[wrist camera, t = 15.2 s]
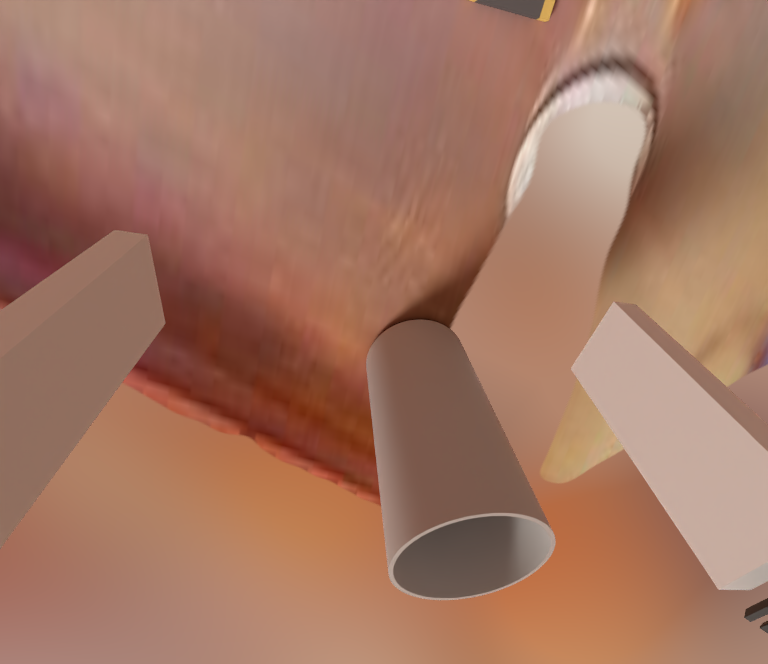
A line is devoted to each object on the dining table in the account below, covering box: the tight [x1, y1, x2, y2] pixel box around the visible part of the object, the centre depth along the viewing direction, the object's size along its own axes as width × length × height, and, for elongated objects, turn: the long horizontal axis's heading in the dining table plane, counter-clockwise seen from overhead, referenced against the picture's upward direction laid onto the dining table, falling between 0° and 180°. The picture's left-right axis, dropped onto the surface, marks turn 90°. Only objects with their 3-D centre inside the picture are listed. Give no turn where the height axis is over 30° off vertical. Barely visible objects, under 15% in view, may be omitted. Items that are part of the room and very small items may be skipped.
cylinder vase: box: [366, 319, 555, 600], centre depth 38 cm, size 12×12×25 cm
